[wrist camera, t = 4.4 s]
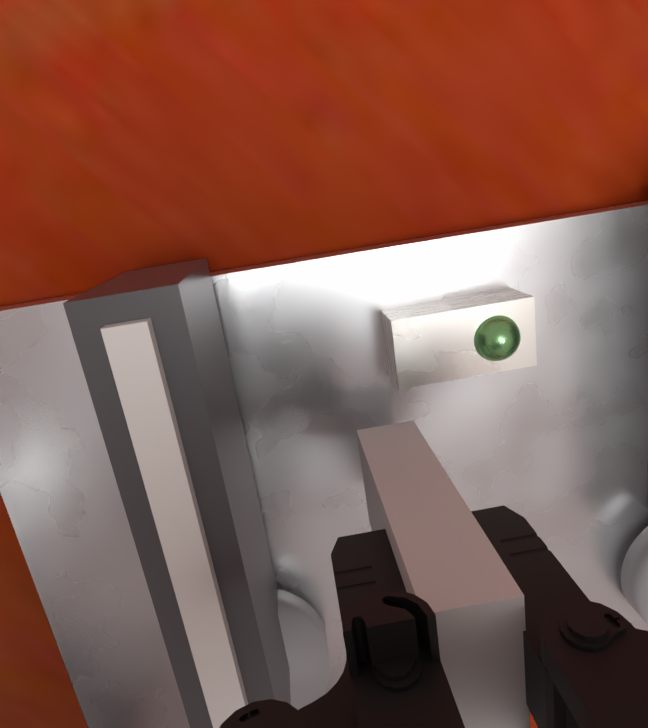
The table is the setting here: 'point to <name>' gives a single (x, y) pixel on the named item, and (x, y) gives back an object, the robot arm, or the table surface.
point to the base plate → (354, 423)
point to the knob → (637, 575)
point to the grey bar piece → (193, 492)
